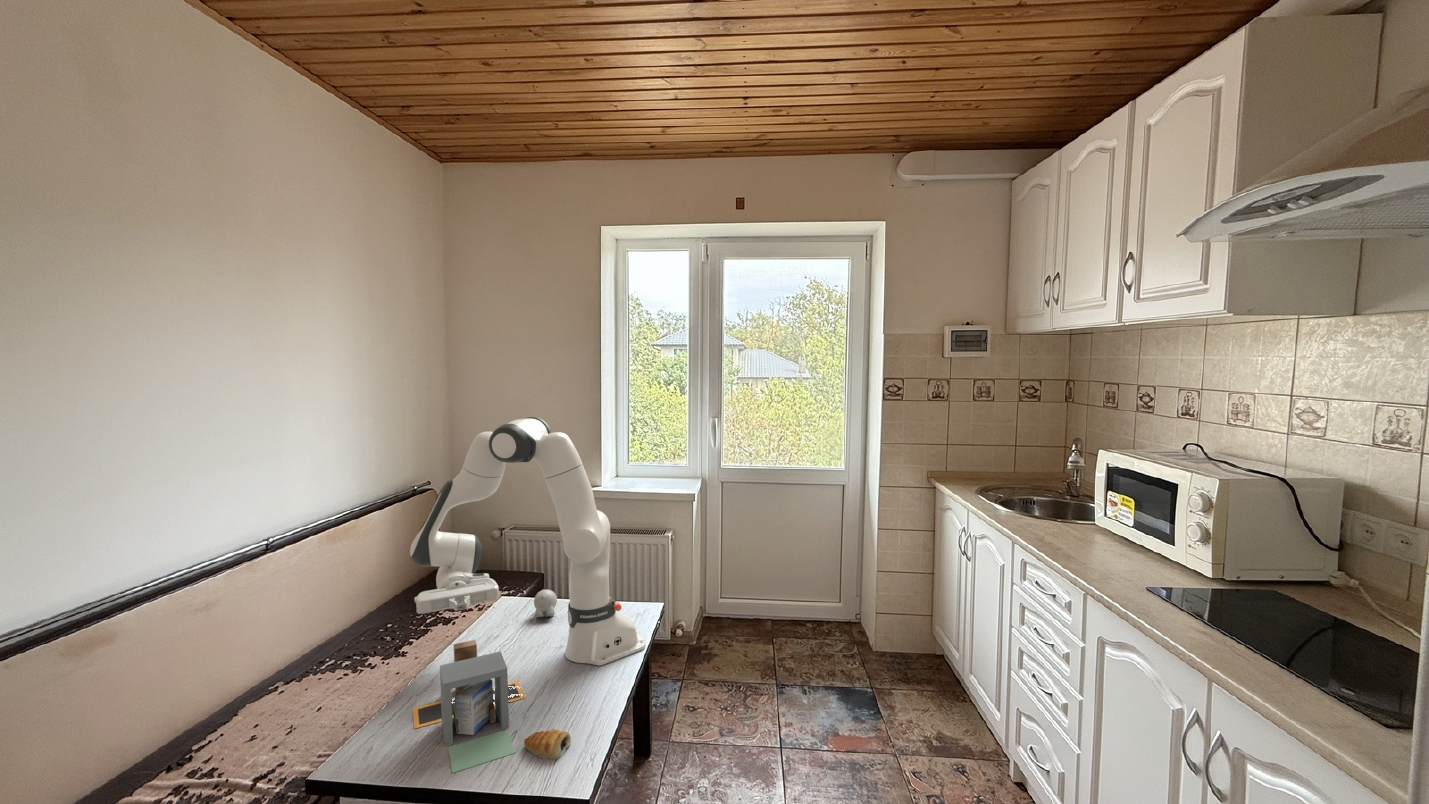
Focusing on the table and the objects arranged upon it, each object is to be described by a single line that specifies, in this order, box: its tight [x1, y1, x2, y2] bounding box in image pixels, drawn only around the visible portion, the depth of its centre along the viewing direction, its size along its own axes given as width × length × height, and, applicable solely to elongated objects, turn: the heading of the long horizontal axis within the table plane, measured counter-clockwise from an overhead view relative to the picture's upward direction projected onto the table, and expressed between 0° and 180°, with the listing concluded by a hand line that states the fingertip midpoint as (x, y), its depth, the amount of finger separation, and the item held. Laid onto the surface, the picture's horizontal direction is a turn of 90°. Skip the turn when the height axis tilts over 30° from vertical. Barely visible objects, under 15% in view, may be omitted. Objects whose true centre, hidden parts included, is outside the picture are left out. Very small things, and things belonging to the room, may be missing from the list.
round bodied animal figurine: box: [533, 589, 558, 618], centre depth 189 cm, size 7×12×8 cm, turn 10°
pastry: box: [523, 728, 572, 761], centre depth 121 cm, size 9×7×4 cm
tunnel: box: [439, 651, 510, 747], centre depth 129 cm, size 13×9×14 cm
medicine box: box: [454, 679, 494, 736], centre depth 129 cm, size 8×4×9 cm, turn 168°
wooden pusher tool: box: [453, 639, 496, 734], centre depth 136 cm, size 8×20×11 cm, turn 29°
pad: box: [447, 729, 516, 774], centre depth 121 cm, size 12×9×1 cm
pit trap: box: [412, 680, 526, 730], centre depth 138 cm, size 24×9×1 cm, turn 119°
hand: (461, 607), depth 148 cm, fingers closed
